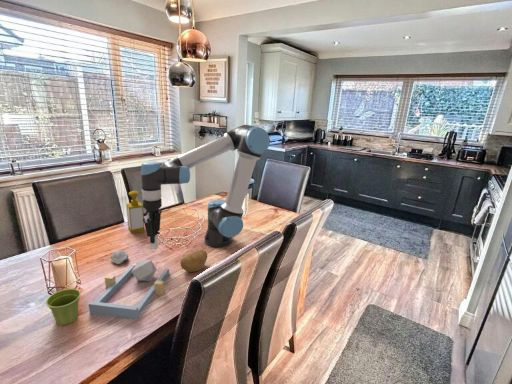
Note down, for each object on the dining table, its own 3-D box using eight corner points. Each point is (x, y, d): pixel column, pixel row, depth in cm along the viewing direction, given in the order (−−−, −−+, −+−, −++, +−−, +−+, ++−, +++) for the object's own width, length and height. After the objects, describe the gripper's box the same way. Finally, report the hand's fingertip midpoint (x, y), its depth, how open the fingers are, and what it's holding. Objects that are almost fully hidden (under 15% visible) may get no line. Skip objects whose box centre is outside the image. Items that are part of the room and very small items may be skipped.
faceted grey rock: (142, 289, 111) (156, 268, 112) (123, 276, 111) (138, 255, 112) (149, 283, 120) (163, 264, 121) (132, 272, 120) (146, 252, 121)
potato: (213, 265, 129) (213, 250, 127) (191, 280, 118) (191, 263, 116) (197, 258, 134) (197, 244, 132) (175, 272, 123) (174, 256, 120)
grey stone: (133, 257, 133) (132, 248, 131) (123, 266, 125) (122, 256, 124) (116, 255, 134) (115, 246, 132) (105, 264, 126) (104, 254, 125)
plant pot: (71, 306, 99) (67, 285, 97) (90, 314, 96) (87, 293, 94) (43, 323, 91) (39, 301, 89) (63, 333, 88) (58, 310, 85)
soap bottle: (154, 229, 163) (152, 190, 156) (131, 233, 156) (127, 193, 149) (151, 224, 169) (148, 187, 162) (128, 229, 162) (125, 190, 155)
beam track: (175, 274, 121) (175, 264, 119) (145, 320, 95) (144, 308, 93) (125, 269, 123) (124, 259, 121) (81, 312, 97) (79, 300, 95)
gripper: (150, 193, 124) (152, 240, 131) (135, 202, 112) (138, 254, 119) (166, 194, 124) (168, 242, 130) (153, 204, 111) (155, 256, 118)
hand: (154, 248), depth 124 cm, fingers closed
